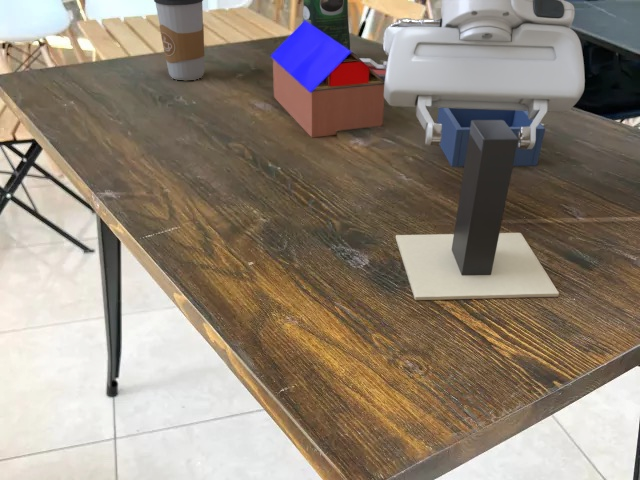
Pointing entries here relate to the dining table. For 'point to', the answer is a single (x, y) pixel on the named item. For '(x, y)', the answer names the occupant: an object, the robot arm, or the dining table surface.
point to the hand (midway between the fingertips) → (479, 145)
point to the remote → (483, 195)
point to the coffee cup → (182, 37)
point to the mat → (447, 282)
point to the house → (325, 84)
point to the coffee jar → (329, 18)
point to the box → (460, 119)
